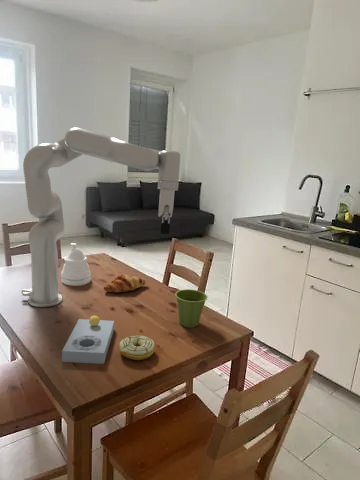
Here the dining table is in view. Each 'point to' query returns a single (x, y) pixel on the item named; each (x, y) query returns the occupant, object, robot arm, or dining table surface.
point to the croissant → (125, 283)
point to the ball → (94, 320)
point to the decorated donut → (137, 347)
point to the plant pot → (190, 306)
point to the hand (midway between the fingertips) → (165, 230)
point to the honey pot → (75, 268)
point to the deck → (88, 342)
